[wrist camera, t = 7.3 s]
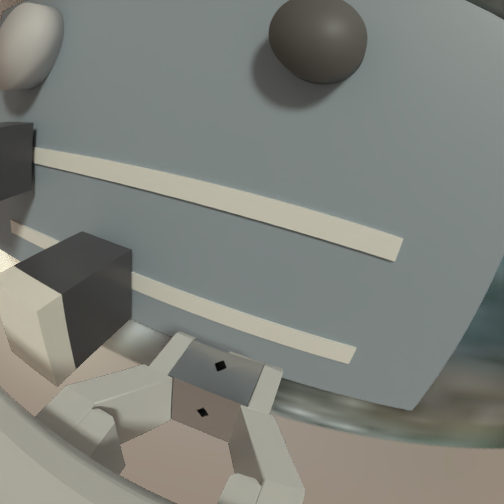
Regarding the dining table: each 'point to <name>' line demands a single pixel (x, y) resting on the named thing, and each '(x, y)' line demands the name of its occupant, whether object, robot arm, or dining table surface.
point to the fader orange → (15, 158)
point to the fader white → (66, 303)
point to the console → (273, 171)
